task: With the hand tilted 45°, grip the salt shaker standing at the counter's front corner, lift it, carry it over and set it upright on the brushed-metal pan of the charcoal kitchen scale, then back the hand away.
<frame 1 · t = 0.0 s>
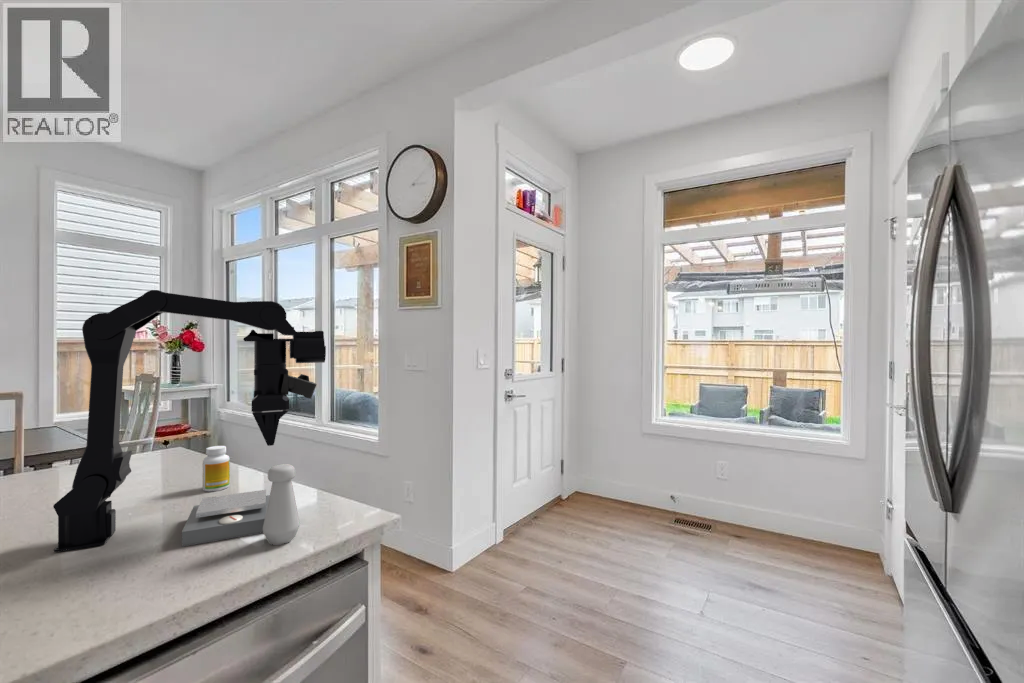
hand: (270, 440, 92), 15 cm above the counter, tool pointing down, fingers open, 9 cm apart
scale pan: (233, 502, 88), point 4 cm above the counter, slide at 0.2 cm
salt shaker: (281, 541, 80), on the counter
scale: (232, 524, 87), on the counter
supplement bottle: (216, 489, 108), on the counter
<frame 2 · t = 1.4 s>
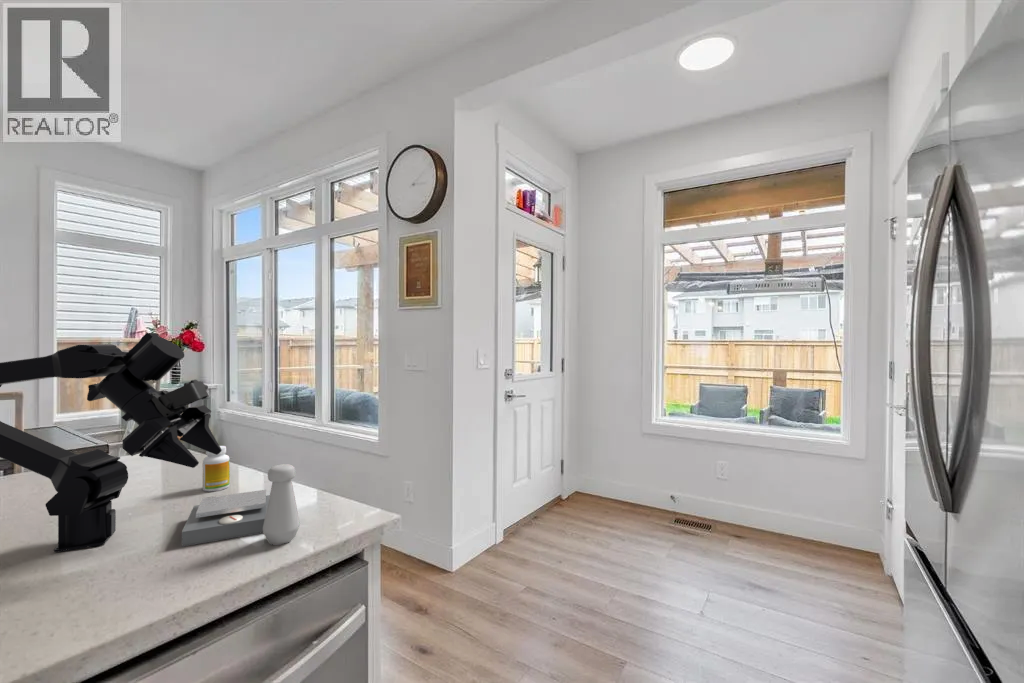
hand: (208, 458, 82), 14 cm above the counter, tool tilted 45°, fingers open, 9 cm apart
nothing on the counter moved.
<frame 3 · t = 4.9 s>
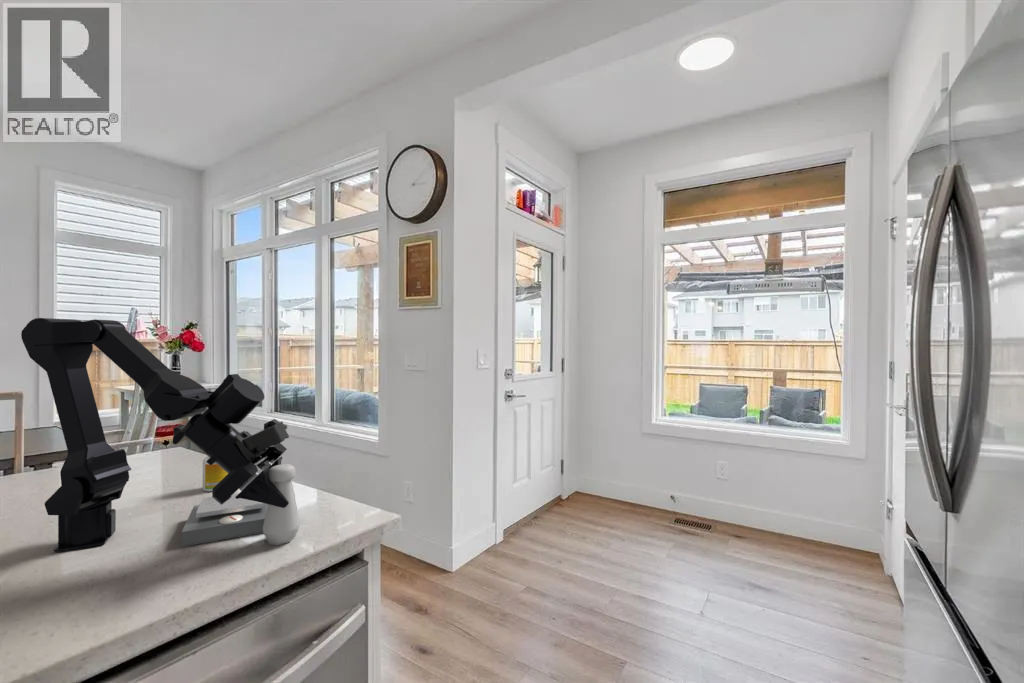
hand: (290, 501, 80), 7 cm above the counter, tool tilted 45°, fingers closed on salt shaker, 3 cm apart
salt shaker: (281, 541, 80), on the counter, touching gripper
everything else where it was.
when the fingers open (12 cm above the counter, at t = 7.9 s): salt shaker drops 2 cm, resting on scale pan.
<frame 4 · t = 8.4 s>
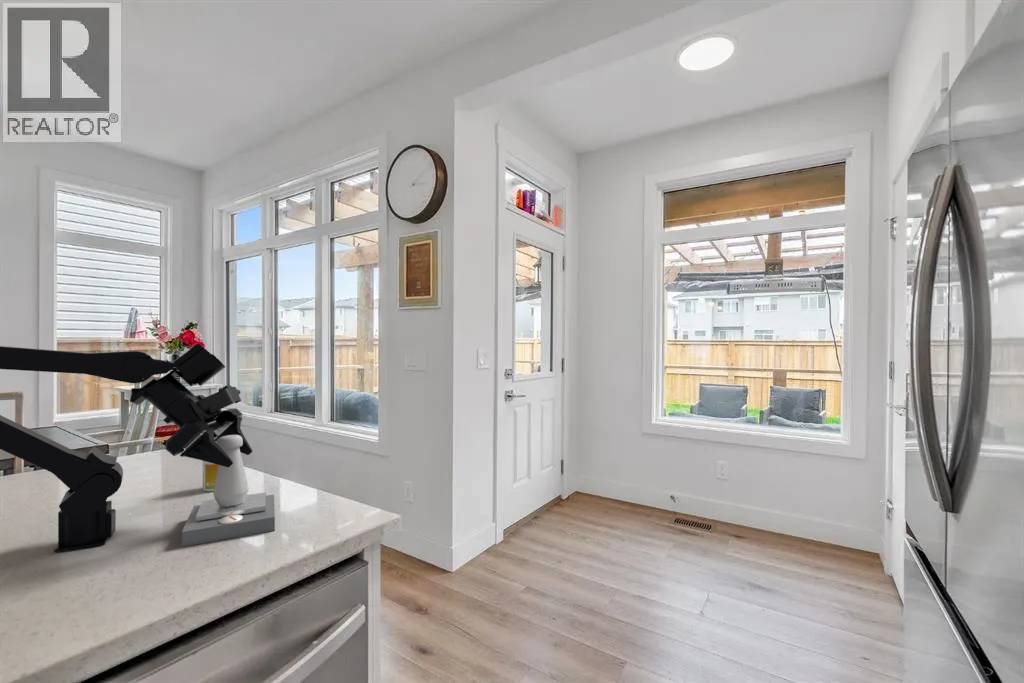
hand: (241, 459, 88), 12 cm above the counter, tool tilted 45°, fingers open, 9 cm apart
scale pan: (233, 505, 88), point 3 cm above the counter, slide at 0.8 cm, touching salt shaker
salt shaker: (231, 504, 88), point 3 cm above the counter, touching scale pan
everything else where it was.
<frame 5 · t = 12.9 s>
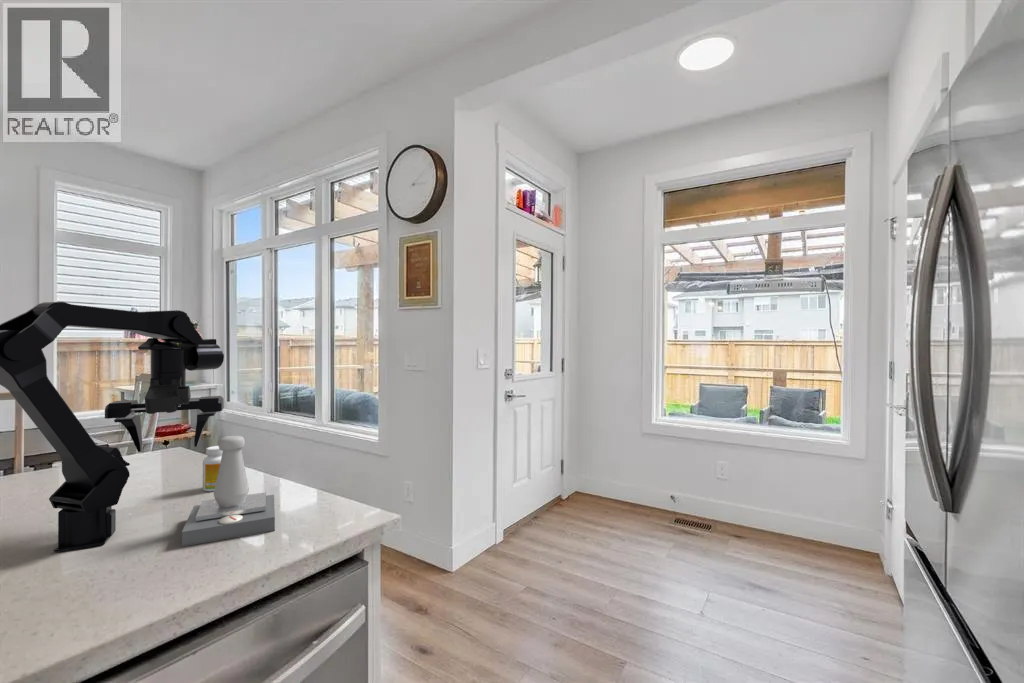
hand: (168, 448, 93), 13 cm above the counter, tool pointing down, fingers open, 9 cm apart
nothing on the counter moved.
at the end: salt shaker inside the target area on the scale (0.3 cm from its centre), point 3.3 cm above the scale's base; salt shaker tilted 0°; the gripper is holding nothing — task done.
